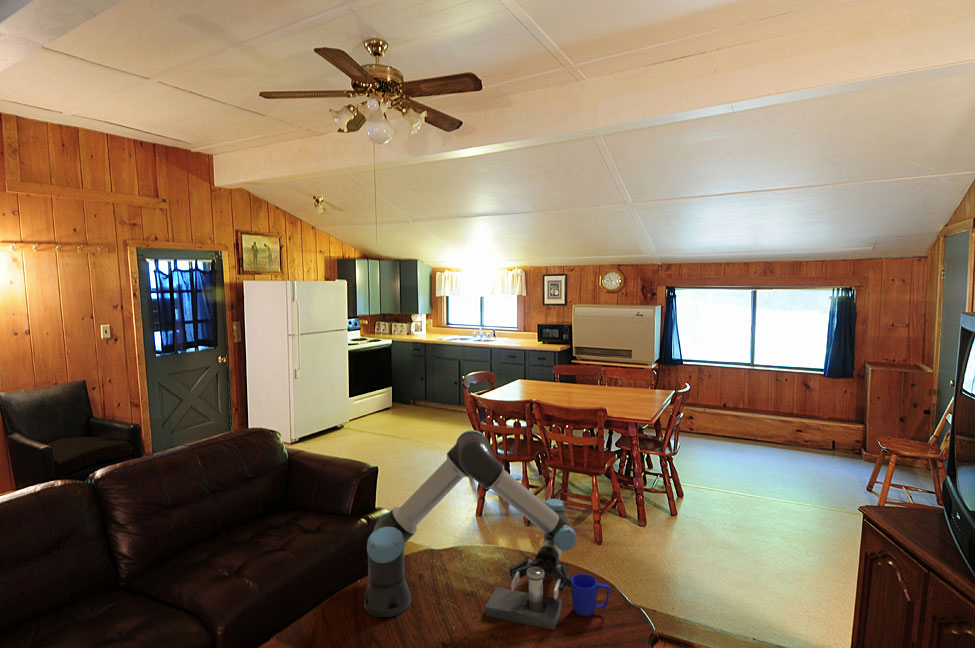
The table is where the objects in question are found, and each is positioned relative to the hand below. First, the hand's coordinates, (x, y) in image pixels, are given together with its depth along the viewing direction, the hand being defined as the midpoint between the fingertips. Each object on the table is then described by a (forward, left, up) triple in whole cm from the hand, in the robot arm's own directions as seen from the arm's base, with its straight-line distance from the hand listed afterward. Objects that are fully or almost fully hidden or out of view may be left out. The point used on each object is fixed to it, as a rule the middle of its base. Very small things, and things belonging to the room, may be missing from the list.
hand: (533, 591), depth 156 cm
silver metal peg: (0, +3, -10) cm, 10 cm away
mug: (+16, +10, -10) cm, 21 cm away
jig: (-4, +3, -9) cm, 11 cm away
